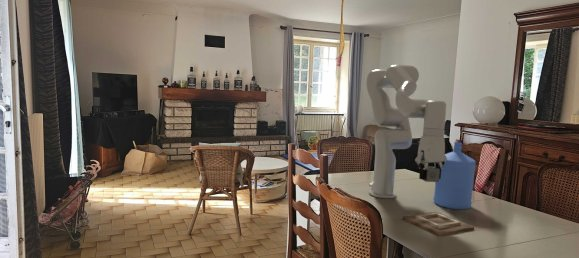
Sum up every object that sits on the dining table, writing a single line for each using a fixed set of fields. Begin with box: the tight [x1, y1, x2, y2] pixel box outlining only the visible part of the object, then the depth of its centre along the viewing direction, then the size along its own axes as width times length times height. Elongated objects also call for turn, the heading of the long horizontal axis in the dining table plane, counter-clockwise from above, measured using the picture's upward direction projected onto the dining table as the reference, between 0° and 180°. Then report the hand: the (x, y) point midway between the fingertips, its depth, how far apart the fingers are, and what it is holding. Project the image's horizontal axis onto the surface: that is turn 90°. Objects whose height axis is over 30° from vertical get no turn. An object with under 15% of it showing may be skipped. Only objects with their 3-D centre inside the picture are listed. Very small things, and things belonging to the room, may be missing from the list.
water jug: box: [433, 141, 476, 211], centre depth 170 cm, size 16×16×28 cm
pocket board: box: [402, 211, 475, 237], centre depth 145 cm, size 18×18×2 cm
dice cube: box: [423, 165, 440, 183], centre depth 148 cm, size 5×5×5 cm
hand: (429, 178), depth 148 cm, fingers closed on dice cube, 6 cm apart
